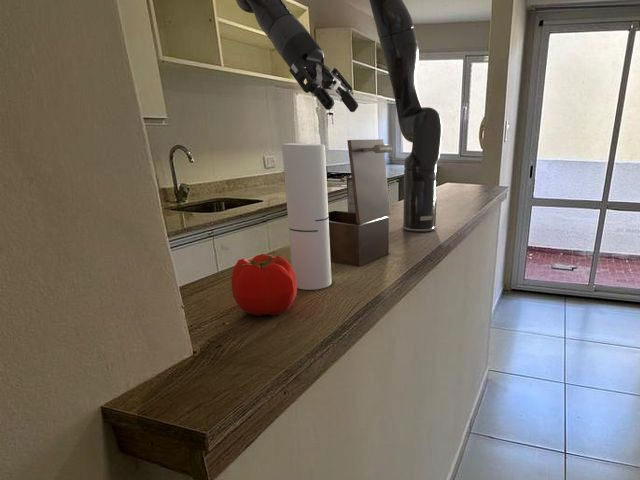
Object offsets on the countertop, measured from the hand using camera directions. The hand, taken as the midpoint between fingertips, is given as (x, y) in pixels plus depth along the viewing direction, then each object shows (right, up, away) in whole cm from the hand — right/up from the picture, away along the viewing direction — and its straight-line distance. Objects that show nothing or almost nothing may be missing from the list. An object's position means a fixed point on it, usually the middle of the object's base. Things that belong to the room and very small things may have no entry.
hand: (343, 108), depth 93 cm
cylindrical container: (-5, -37, -7) cm, 38 cm away
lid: (+5, -14, +3) cm, 15 cm away
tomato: (-9, -43, -20) cm, 48 cm away
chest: (-1, -29, +12) cm, 32 cm away
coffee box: (0, -22, +30) cm, 37 cm away
